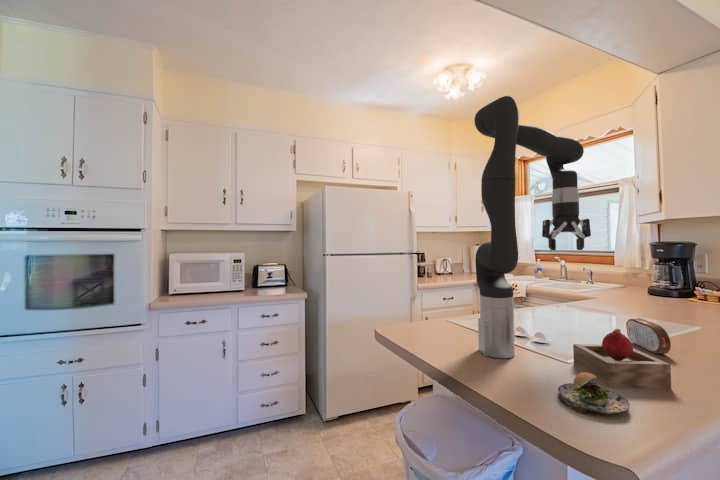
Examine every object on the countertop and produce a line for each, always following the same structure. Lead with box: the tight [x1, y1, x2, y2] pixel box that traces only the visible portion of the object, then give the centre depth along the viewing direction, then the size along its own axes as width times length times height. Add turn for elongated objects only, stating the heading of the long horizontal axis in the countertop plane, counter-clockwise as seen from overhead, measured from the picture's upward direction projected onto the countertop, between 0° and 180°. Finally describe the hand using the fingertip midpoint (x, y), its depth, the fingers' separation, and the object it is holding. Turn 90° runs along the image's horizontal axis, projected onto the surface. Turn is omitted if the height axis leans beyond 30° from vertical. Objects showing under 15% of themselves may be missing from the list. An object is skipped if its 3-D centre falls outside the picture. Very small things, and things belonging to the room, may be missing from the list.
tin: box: [625, 317, 672, 355], centre depth 93 cm, size 15×3×8 cm, turn 168°
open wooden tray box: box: [572, 343, 672, 390], centre depth 75 cm, size 13×13×6 cm
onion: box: [601, 328, 634, 361], centre depth 75 cm, size 6×6×8 cm
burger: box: [557, 367, 630, 415], centre depth 62 cm, size 12×12×8 cm
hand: (566, 250), depth 103 cm, fingers open, 8 cm apart
